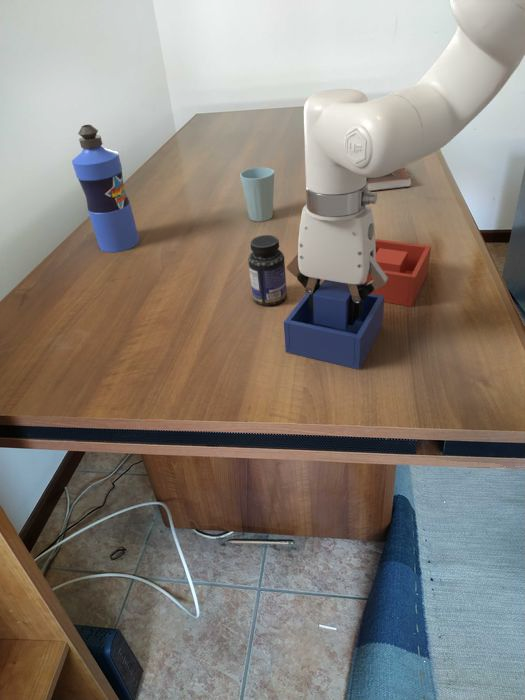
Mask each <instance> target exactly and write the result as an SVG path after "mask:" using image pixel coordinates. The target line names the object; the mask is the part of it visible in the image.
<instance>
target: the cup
mask: <svg viewBox="0 0 525 700" xmlns="http://www.w3.org/2000/svg"><path fill="white" fill-rule="evenodd" d="M239 177H240V181H241V185H242V190H243V195H244V199H245V203H246V207H247V208H246V209H247V212H248V217H249V220H251V221H252V222H258V223H260V222H266V221H270V220H271V219H272V218H273V214H274V194H275V193H274V191H275V190H274V189H275V170H274V169H273V168H270V167H260V166H259V167H252V168H247V169H245V170H243V171H242V172H240V174H239Z"/></svg>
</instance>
